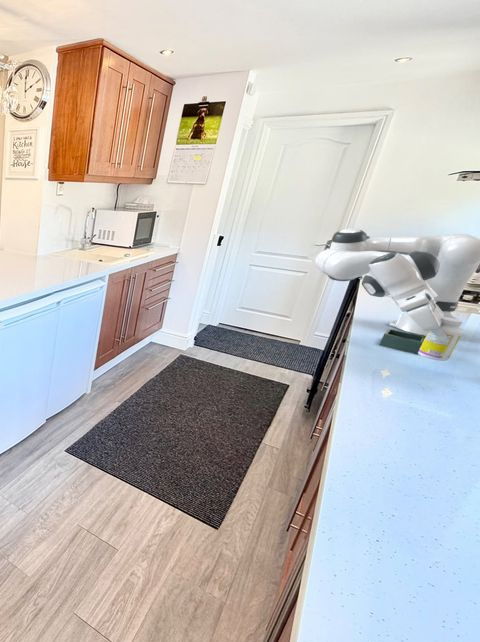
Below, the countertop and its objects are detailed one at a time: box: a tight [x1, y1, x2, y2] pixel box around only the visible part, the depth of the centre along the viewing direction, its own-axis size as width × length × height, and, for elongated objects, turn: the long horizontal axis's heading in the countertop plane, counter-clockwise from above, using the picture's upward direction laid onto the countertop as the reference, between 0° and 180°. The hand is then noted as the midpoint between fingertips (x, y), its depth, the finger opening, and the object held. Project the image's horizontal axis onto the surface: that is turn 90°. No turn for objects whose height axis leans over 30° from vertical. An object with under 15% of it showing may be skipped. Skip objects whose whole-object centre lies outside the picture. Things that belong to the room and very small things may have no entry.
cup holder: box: [378, 328, 426, 355], centre depth 148 cm, size 10×10×4 cm
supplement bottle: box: [417, 317, 464, 362], centre depth 125 cm, size 7×7×13 cm
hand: (445, 336), depth 124 cm, fingers closed on supplement bottle, 6 cm apart
